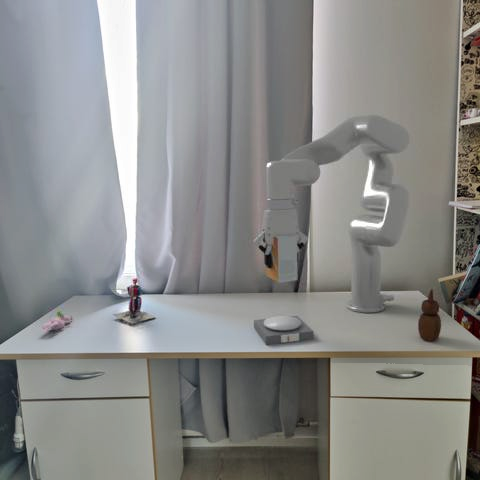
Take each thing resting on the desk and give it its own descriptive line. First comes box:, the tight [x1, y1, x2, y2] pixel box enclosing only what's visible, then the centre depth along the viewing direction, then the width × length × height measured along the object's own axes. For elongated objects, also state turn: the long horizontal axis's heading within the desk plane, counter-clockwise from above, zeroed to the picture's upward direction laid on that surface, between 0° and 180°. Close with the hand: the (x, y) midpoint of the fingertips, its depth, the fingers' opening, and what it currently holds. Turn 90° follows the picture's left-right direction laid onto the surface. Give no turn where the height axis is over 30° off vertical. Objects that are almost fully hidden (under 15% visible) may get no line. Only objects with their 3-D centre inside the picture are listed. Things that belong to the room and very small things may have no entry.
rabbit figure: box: [42, 309, 74, 331], centre depth 156 cm, size 6×6×15 cm
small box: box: [265, 235, 298, 284], centre depth 142 cm, size 8×6×13 cm
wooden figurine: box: [417, 288, 442, 342], centre depth 137 cm, size 7×6×15 cm
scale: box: [253, 315, 314, 346], centre depth 145 cm, size 14×15×4 cm
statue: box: [112, 277, 156, 326], centre depth 162 cm, size 11×9×15 cm
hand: (281, 265), depth 142 cm, fingers closed on small box, 7 cm apart
